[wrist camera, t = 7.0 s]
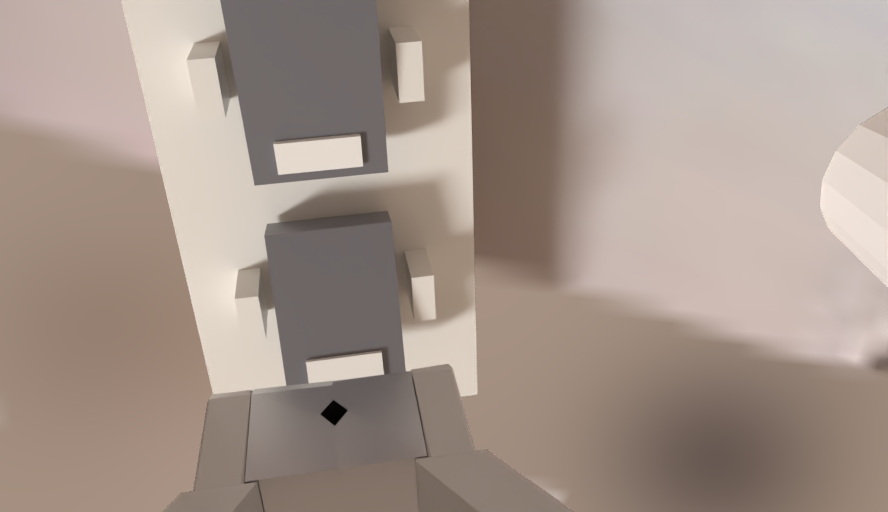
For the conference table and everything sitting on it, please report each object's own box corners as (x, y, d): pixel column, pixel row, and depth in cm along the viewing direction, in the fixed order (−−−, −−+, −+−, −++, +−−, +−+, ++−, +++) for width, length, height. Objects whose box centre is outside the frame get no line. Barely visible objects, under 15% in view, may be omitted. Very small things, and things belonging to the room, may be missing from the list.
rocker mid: (369, -37, 17) (375, -19, 16) (383, 149, 20) (388, 174, 19) (222, -27, 17) (217, -8, 16) (256, 162, 20) (254, 188, 18)
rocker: (387, 211, 21) (391, 223, 20) (402, 365, 22) (407, 386, 21) (266, 223, 21) (263, 237, 19) (289, 380, 22) (288, 403, 21)
